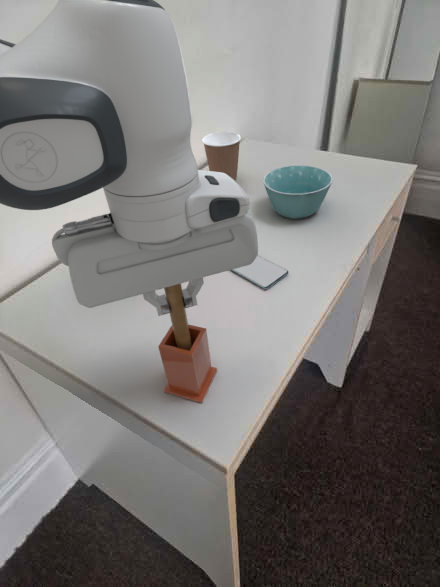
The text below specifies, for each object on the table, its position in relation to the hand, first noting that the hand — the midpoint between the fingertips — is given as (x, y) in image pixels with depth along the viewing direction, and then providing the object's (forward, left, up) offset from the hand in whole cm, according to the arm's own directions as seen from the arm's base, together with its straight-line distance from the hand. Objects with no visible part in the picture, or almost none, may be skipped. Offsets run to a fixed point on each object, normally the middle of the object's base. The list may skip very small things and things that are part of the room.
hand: (176, 307), depth 45 cm
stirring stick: (0, 0, -14) cm, 14 cm away
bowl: (+4, +54, -15) cm, 56 cm away
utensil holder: (0, 0, -15) cm, 15 cm away
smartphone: (0, +29, -15) cm, 33 cm away
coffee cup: (-19, +66, -15) cm, 70 cm away
